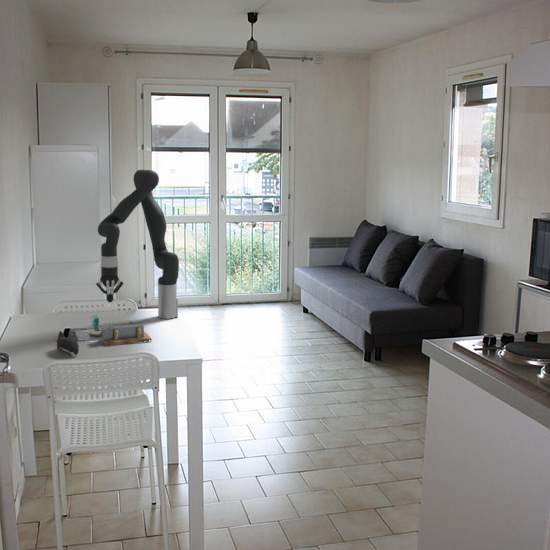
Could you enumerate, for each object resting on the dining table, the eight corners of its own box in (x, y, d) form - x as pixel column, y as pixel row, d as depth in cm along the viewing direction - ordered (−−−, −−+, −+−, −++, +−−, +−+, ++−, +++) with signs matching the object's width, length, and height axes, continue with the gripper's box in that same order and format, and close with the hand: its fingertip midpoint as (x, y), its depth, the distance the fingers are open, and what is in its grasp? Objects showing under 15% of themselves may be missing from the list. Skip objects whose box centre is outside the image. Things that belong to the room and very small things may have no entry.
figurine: (53, 356, 297) (68, 358, 286) (50, 332, 297) (65, 333, 285) (69, 353, 302) (85, 355, 291) (67, 329, 302) (83, 331, 290)
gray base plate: (105, 328, 333) (105, 327, 333) (112, 338, 317) (112, 337, 317) (72, 330, 327) (72, 330, 327) (78, 341, 311) (78, 340, 311)
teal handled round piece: (103, 326, 333) (102, 314, 332) (108, 334, 320) (108, 321, 319) (85, 328, 330) (85, 315, 328) (90, 336, 317) (90, 323, 316)
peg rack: (145, 335, 323) (145, 323, 322) (151, 341, 313) (151, 329, 312) (101, 339, 315) (100, 326, 314) (105, 345, 305) (105, 332, 304)
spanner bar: (141, 334, 319) (141, 323, 318) (144, 337, 314) (144, 326, 313) (101, 337, 312) (100, 326, 311) (103, 340, 307) (102, 329, 306)
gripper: (96, 267, 320) (96, 304, 324) (125, 266, 326) (125, 302, 329) (93, 264, 327) (94, 301, 330) (122, 263, 332) (122, 299, 336)
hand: (109, 301), depth 330 cm, fingers closed
